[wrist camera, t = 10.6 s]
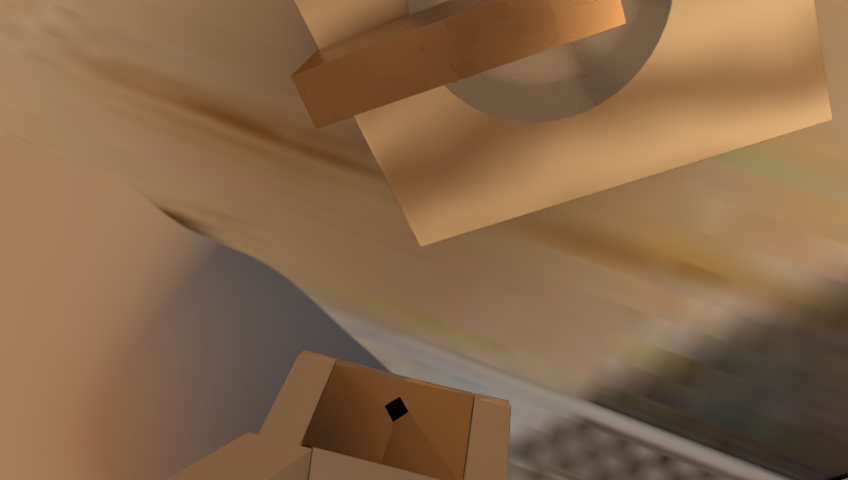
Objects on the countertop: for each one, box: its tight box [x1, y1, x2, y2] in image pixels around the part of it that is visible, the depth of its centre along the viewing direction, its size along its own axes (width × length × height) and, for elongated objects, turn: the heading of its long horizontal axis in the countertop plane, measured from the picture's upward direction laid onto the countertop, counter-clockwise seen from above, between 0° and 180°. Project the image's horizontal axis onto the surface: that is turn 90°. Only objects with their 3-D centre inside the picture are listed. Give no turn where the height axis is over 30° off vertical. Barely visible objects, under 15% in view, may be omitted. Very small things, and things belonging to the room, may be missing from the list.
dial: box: [291, 0, 672, 128], centre depth 27 cm, size 16×11×5 cm
